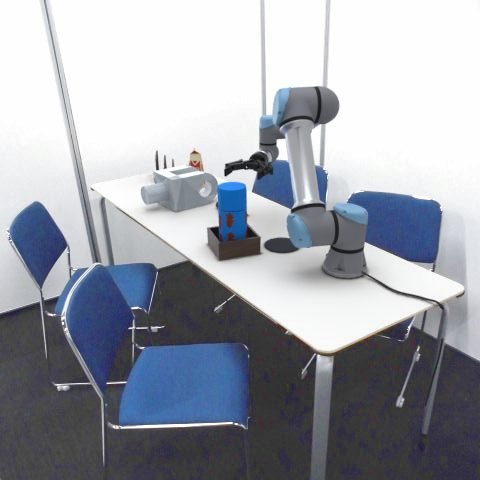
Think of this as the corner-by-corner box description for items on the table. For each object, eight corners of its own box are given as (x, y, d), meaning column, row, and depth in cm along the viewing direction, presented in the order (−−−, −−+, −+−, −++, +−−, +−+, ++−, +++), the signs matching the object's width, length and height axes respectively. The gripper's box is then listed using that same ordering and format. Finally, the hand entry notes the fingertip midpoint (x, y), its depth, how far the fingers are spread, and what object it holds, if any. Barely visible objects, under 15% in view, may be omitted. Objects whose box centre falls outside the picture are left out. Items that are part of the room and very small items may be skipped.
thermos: (244, 255, 180) (243, 191, 167) (217, 253, 182) (213, 189, 168) (249, 244, 189) (248, 182, 175) (223, 242, 191) (221, 181, 177)
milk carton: (204, 187, 254) (202, 148, 243) (187, 187, 254) (184, 149, 243) (206, 182, 262) (203, 144, 251) (189, 182, 262) (186, 145, 251)
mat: (305, 249, 183) (305, 248, 183) (272, 255, 180) (272, 253, 180) (291, 236, 195) (291, 235, 194) (259, 241, 191) (259, 240, 191)
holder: (260, 254, 181) (260, 237, 177) (219, 260, 177) (218, 243, 173) (246, 238, 194) (246, 222, 191) (207, 243, 190) (206, 227, 186)
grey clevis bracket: (198, 191, 247) (196, 162, 239) (218, 201, 234) (217, 170, 226) (138, 206, 230) (133, 175, 222) (156, 216, 217) (152, 184, 209)
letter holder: (157, 182, 263) (154, 156, 255) (158, 172, 279) (155, 148, 272) (175, 181, 263) (172, 155, 256) (175, 172, 280) (172, 147, 272)
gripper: (288, 172, 193) (272, 187, 177) (232, 167, 201) (212, 181, 185) (289, 153, 189) (272, 167, 173) (232, 149, 197) (211, 161, 181)
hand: (241, 174), depth 179 cm, fingers open, 13 cm apart
